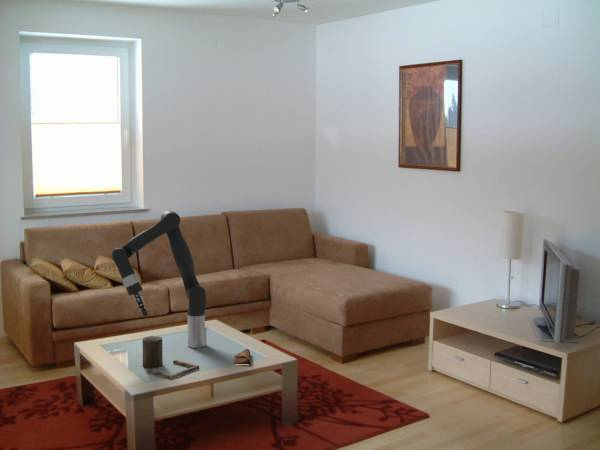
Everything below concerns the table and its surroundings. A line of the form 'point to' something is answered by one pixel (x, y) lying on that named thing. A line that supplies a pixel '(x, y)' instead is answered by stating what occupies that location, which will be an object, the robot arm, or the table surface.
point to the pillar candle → (152, 352)
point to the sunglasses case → (242, 357)
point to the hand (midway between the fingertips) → (146, 315)
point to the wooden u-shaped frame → (191, 368)
